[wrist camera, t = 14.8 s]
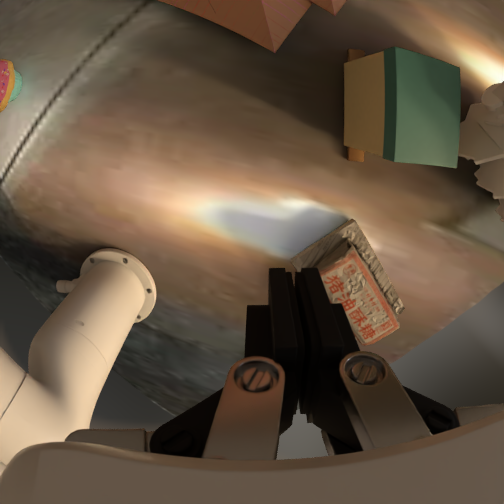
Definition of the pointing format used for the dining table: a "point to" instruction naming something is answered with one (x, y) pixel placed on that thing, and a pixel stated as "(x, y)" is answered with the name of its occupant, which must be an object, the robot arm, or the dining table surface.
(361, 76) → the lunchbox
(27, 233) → the dining table surface
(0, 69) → the cupcake
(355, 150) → the oak strip
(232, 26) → the house
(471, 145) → the spiral staircase
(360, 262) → the packaged product
